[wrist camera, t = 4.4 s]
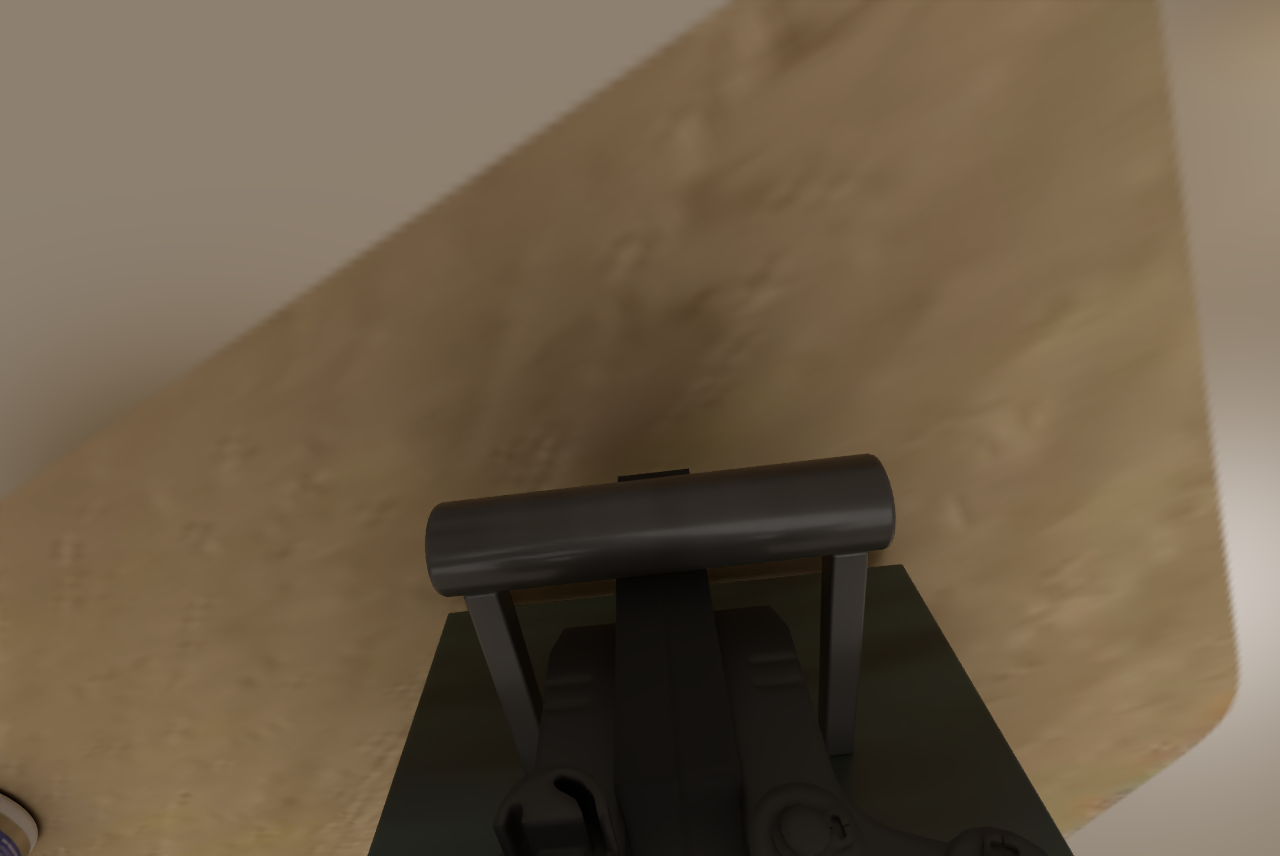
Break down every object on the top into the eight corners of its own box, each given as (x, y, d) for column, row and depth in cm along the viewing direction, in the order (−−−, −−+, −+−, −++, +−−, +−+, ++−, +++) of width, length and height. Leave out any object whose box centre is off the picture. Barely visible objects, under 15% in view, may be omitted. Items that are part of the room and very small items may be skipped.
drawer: (368, 395, 14) (118, 694, 7) (927, 327, 14) (1246, 575, 7) (543, 869, 24) (510, 1189, 17) (873, 838, 23) (978, 1155, 16)
